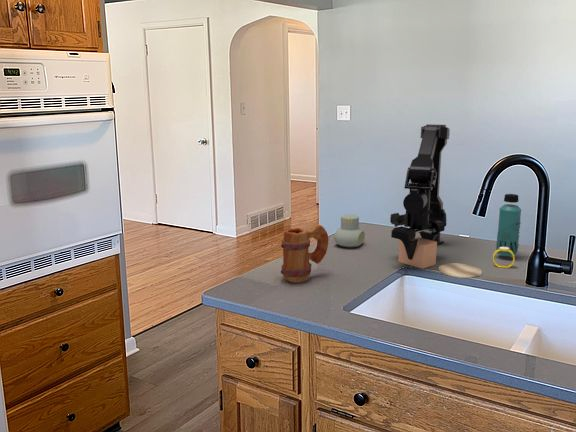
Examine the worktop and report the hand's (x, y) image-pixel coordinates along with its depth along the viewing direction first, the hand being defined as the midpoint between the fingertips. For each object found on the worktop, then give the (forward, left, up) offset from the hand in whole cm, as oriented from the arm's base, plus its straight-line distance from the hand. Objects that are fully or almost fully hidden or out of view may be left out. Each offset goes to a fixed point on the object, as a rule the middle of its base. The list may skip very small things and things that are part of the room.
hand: (417, 257), depth 174 cm
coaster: (-3, +13, -2) cm, 13 cm away
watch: (-16, +19, -2) cm, 25 cm away
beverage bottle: (-25, +15, -2) cm, 29 cm away
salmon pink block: (0, 0, -2) cm, 2 cm away
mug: (+35, -12, -2) cm, 37 cm away
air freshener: (+1, -27, -2) cm, 27 cm away
